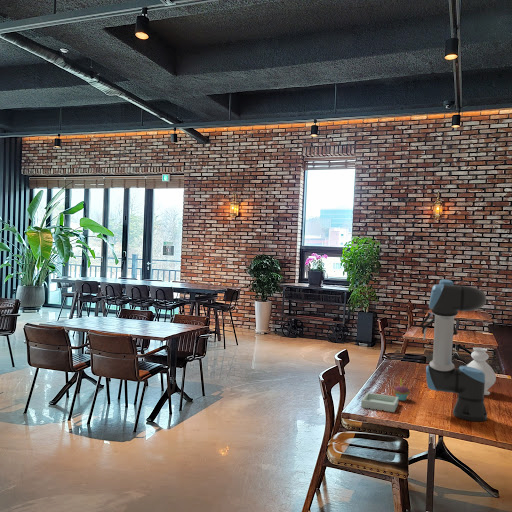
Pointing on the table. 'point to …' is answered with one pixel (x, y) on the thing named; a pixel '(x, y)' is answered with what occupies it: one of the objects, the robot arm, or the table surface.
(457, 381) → the robot arm
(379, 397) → the tray
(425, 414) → the table surface
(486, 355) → the decorative vase
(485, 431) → the table surface
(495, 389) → the table surface
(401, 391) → the cupcake
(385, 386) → the table surface
